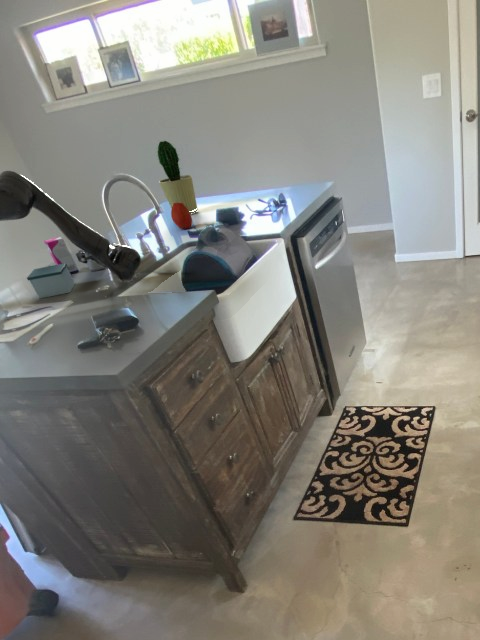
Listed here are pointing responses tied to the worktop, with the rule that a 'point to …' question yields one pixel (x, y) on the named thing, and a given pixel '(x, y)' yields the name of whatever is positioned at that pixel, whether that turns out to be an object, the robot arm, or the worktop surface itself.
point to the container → (51, 280)
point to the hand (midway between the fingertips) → (92, 250)
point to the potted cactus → (175, 178)
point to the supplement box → (61, 253)
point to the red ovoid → (181, 216)
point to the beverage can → (93, 265)
